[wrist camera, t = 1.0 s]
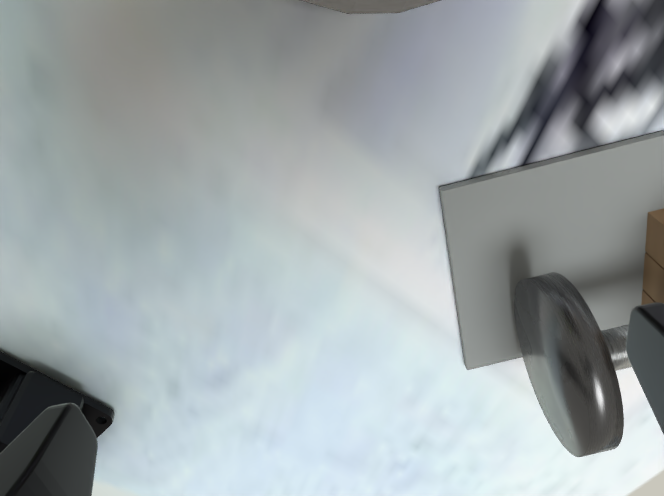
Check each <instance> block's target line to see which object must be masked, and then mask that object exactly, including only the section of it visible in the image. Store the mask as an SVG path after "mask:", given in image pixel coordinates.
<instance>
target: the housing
mask: <svg viewBox="0 0 664 496" xmlns="http://www.w3.org/2000/svg"><path fill="white" fill-rule="evenodd" d="M645 251H646V253H645V260H644V274H643V289H644V290H642V302H641V305H644V304H650V303H656V302H659V303H664V208H663V209H659V210H655V211H651V212H648V217H647V231H646V245H645Z"/></svg>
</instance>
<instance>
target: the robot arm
mask: <svg viewBox="0 0 664 496" xmlns="http://www.w3.org/2000/svg"><path fill="white" fill-rule="evenodd" d="M626 352H627V356H628V359H629V361H630V363H631V365H632V367H633V370H634V372H635V374H636V376H637V378H638V380H639V382H640V385H641V387H642V389H643V391H644V393H645V395H646V397H647V400H648V402H649V404H650V406H651V408H652V410H653V413H654V415H655V417H656V419H657V421H658V423H659V425H660V428H661V430H662V432H663V434H664V303H659V302H656V303H650V304H644V305H638V306H636V307H634V308H633V309H632V311H631V314H630V319H629V326H628V333H627V339H626ZM102 417H105V418H102ZM113 419H114V412H113V410H111V409H110V408H108V407H106V406H104V405H102V404H101V403H99V402H97V401H95V400H93V399H91V398H89V397H87V396H85V395H83V394H81V393H79V392H77V391H76V390H74V389H72V388H70V387H68V386H66V385H64V384H62V383H60V382H58V381H56V380H54V379H53V378H51V377H49V376H47V375H45V374H43V373H41V372H39V371H37V370H35V369H33V368H31V367H30V366H28V365H26V364H24V363H22V362H20V361H18V360H16V359H14V358H12V357H10V356H8V355H7V354H5V353H3V352H1V351H0V496H91V495H92V487H93V479H94V471H95V463H96V455H97V437H99V436H100V435H101V434H102V433H103V432H104V431H105V430H106V429H107V428H108V427H109V426H110V425H111V424H112V422H113Z"/></svg>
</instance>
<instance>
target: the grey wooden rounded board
mask: <svg viewBox="0 0 664 496" xmlns="http://www.w3.org/2000/svg"><path fill="white" fill-rule="evenodd" d="M301 1H304V2H308V3H312V4H315V5H319V6H322V7H326V8H330V9H333V10H337V11H340V12H344V13H347V14H352V13H400V12H403V11H407V10H410V9H414V8H417V7H420V6H424V5H427V4H430V3H434V2H437V1H441V0H301Z"/></svg>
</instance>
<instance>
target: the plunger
mask: <svg viewBox="0 0 664 496" xmlns="http://www.w3.org/2000/svg"><path fill="white" fill-rule="evenodd" d="M514 313H515V322H516V329H517V334H518V339H519V343H520V348H521V352H522V355H523V359H524V362H525V366H526V369H527V372H528V375H529V378H530V381H531V384H532V387H533V389H534V392H535V394H536V397H537V399H538V401H539V404H540V406H541V408H542V410H543V413H544V415H545V417H546V419H547V421H548V423H549V424H550V426H551V428H552V430H553V431H554V433H555V435H556V436H557V438H558V439H559V441H560V442H561V443H562V445H563V446H564V447H565V448H566V449H567V450H568V451H569V452H570V453H571V454H572V455H574V456H576V457H582V456H587V455H591V454H595V453H599V452H604V451H608V450H612V449H615V448H616V447H618V445H619V444H620V442H621V439H622V435H623V427H624V417H623V405H622V399H621V393H620V388H619V383H618V379H617V375H616V372H615V371H617V370H621V369H625V368H629V367H632V365H631V363H630V361H629V359H628V356H627V352H626V339H627V333H628V326H629V324H627V325H623V326H619V327H615V328H611V329H607V330H603V331H601V330H600V328H599V326H598V324H597V322H596V320H595V318H594V316H593V314H592V312H591V310H590V308H589V307H588V305H587V303H586V302H585V300H584V299H583V297H582V296H581V294H580V293H579V291H578V290H577V289H576V288H575V286H574V285H573V284H572V283H571V282H570V281H569V280H568V279H567V278H566V277H564V276H563V275H561V274H559V273H556V272H551V273H547V274H543V275H539V276H535V277H531V278H527V279H523V280H520V281H519V282H518V283H517V286H516V289H515V294H514Z"/></svg>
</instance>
